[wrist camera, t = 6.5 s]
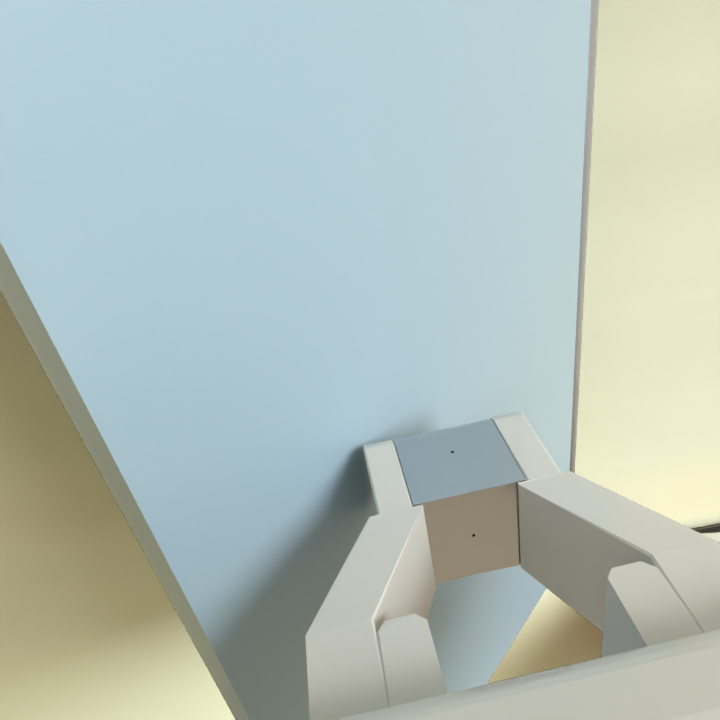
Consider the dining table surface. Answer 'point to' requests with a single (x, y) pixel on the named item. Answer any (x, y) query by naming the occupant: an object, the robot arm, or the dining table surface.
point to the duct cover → (296, 279)
